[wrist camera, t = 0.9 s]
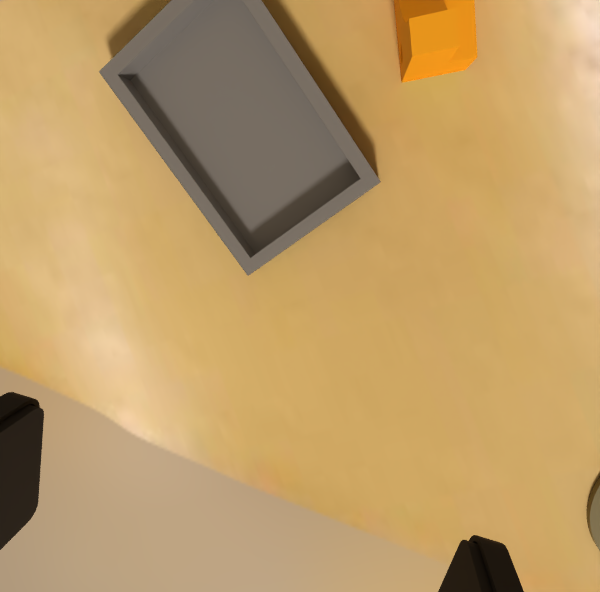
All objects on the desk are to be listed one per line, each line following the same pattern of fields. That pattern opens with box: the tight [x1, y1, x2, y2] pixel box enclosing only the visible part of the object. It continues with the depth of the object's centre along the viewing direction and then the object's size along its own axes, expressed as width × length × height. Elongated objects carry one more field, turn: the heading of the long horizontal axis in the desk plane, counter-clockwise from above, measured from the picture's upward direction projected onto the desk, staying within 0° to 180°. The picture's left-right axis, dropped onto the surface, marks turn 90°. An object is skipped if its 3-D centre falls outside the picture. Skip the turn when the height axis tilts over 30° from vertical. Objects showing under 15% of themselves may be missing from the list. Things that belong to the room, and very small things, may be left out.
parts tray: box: [99, 0, 380, 275], centre depth 31 cm, size 12×18×2 cm, turn 36°
